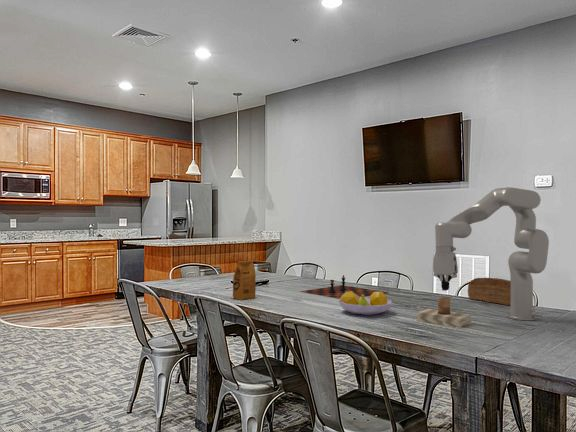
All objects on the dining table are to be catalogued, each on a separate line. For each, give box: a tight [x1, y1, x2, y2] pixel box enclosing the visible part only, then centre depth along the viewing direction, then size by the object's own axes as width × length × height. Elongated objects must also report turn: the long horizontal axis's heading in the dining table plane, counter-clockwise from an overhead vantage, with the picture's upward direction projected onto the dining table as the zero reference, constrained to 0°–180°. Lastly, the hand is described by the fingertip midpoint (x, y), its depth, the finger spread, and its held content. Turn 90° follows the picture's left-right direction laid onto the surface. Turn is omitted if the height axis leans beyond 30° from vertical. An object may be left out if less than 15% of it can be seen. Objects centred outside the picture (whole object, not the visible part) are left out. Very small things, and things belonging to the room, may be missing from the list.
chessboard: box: [299, 275, 389, 300], centre depth 299 cm, size 40×40×11 cm
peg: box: [437, 296, 451, 315], centre depth 213 cm, size 5×5×11 cm
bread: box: [467, 277, 511, 306], centre depth 266 cm, size 12×31×14 cm, turn 35°
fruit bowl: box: [337, 291, 392, 316], centre depth 234 cm, size 28×27×11 cm
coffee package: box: [232, 260, 257, 301], centre depth 274 cm, size 10×12×22 cm
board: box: [416, 308, 472, 329], centre depth 213 cm, size 20×12×4 cm, turn 46°
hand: (445, 289), depth 213 cm, fingers closed
